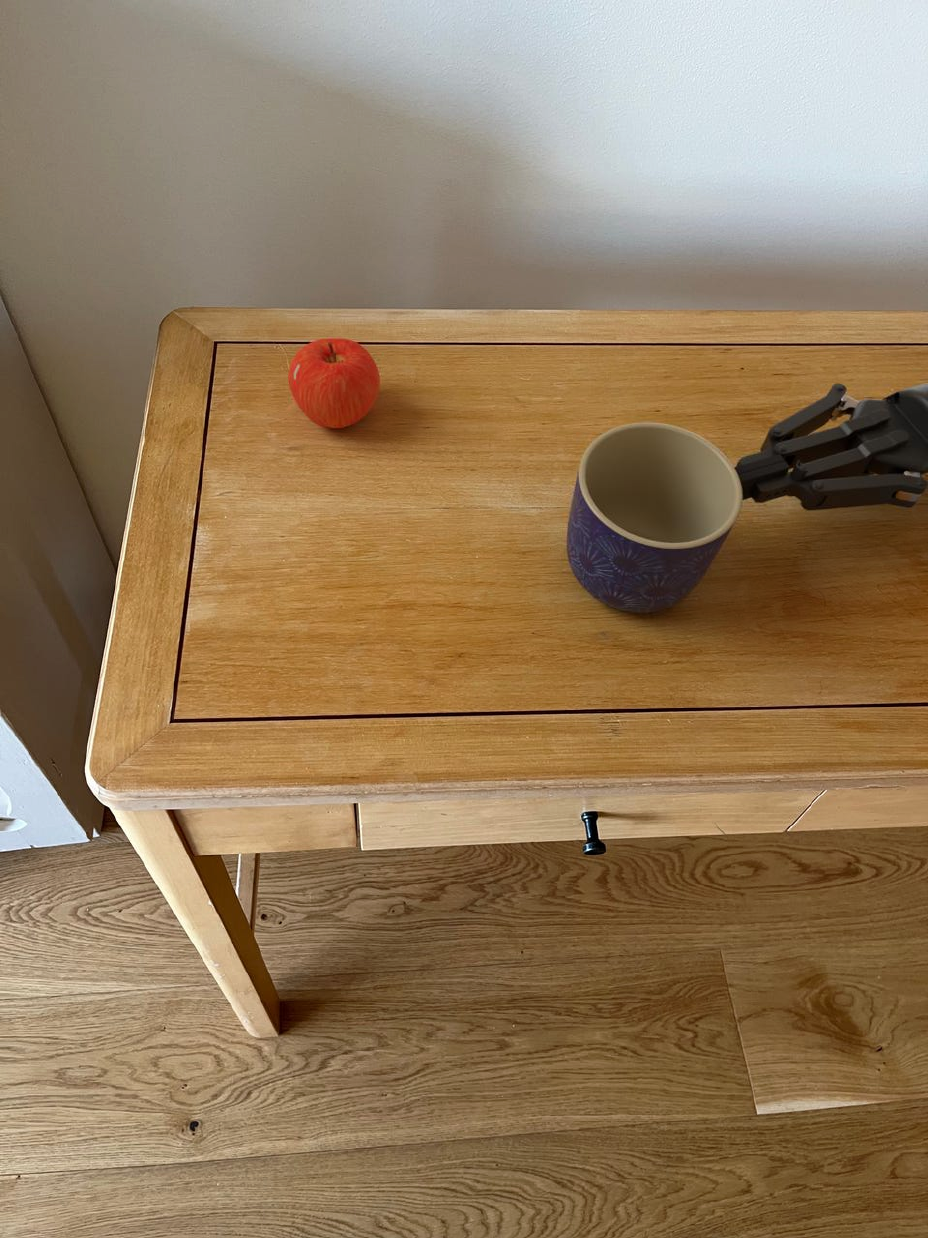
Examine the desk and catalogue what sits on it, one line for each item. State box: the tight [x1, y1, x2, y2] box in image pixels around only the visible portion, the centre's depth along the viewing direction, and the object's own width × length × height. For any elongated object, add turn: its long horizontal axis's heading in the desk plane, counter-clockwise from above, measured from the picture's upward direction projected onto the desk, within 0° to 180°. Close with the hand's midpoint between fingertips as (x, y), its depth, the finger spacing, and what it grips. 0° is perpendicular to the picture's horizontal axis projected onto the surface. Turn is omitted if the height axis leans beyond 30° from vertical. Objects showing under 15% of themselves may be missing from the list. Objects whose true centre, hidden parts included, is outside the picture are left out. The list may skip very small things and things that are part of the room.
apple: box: [287, 337, 381, 429], centre depth 82 cm, size 8×8×8 cm
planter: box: [566, 421, 744, 614], centre depth 74 cm, size 12×12×11 cm
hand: (712, 491), depth 75 cm, fingers closed
